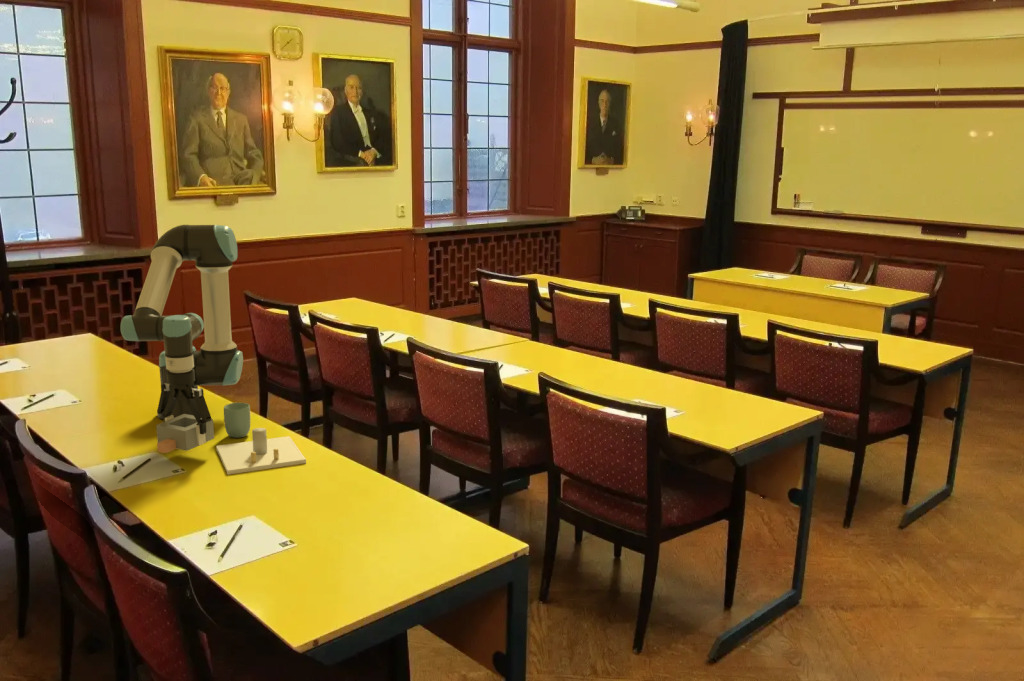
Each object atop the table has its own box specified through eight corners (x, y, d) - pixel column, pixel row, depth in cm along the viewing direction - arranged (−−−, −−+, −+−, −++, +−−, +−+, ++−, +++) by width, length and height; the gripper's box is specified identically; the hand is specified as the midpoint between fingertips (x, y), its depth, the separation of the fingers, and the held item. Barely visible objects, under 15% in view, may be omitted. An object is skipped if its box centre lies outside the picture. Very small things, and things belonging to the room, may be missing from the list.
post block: (216, 449, 254) (215, 423, 253) (289, 439, 264) (288, 415, 262) (227, 474, 235) (226, 447, 233) (306, 463, 245) (305, 436, 243)
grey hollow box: (185, 432, 254) (184, 413, 252) (214, 438, 249) (212, 419, 248) (147, 449, 240) (145, 429, 239) (176, 455, 236) (174, 435, 235)
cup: (243, 441, 262) (241, 410, 260) (220, 438, 264) (218, 408, 261) (255, 433, 270) (254, 403, 267) (233, 431, 271) (231, 401, 269)
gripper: (139, 367, 242) (146, 438, 247) (202, 378, 233) (207, 451, 239) (159, 360, 249) (165, 430, 254) (221, 371, 240) (226, 442, 245)
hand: (186, 440), depth 246 cm, fingers closed on grey hollow box, 11 cm apart
